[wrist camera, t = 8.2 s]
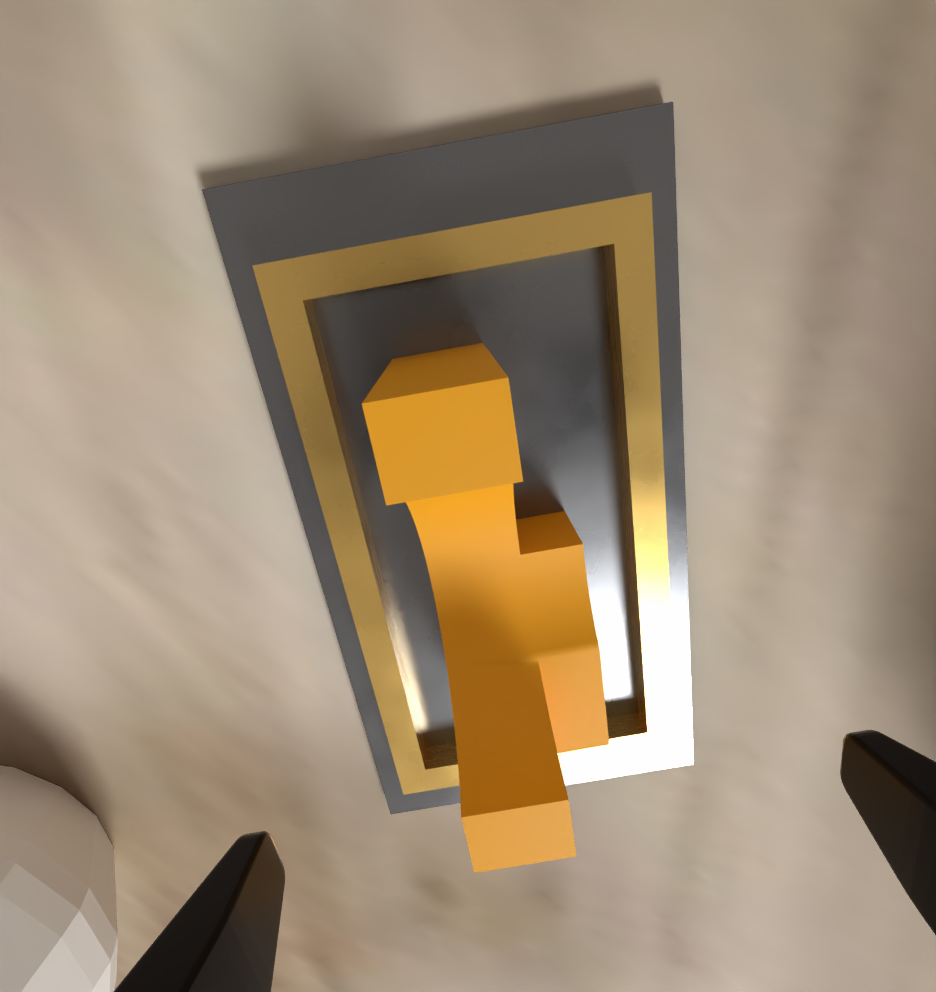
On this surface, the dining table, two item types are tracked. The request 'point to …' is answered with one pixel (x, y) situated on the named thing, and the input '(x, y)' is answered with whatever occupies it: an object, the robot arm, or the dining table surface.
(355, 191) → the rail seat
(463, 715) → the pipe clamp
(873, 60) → the dining table surface
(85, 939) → the white vase
